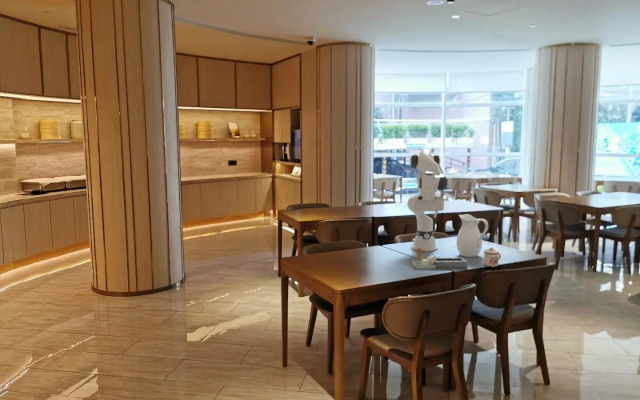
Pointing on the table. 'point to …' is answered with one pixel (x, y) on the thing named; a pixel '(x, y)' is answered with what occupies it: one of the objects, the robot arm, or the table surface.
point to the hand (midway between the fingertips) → (427, 217)
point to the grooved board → (450, 263)
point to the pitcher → (470, 236)
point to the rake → (419, 254)
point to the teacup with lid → (491, 257)
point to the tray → (419, 265)
